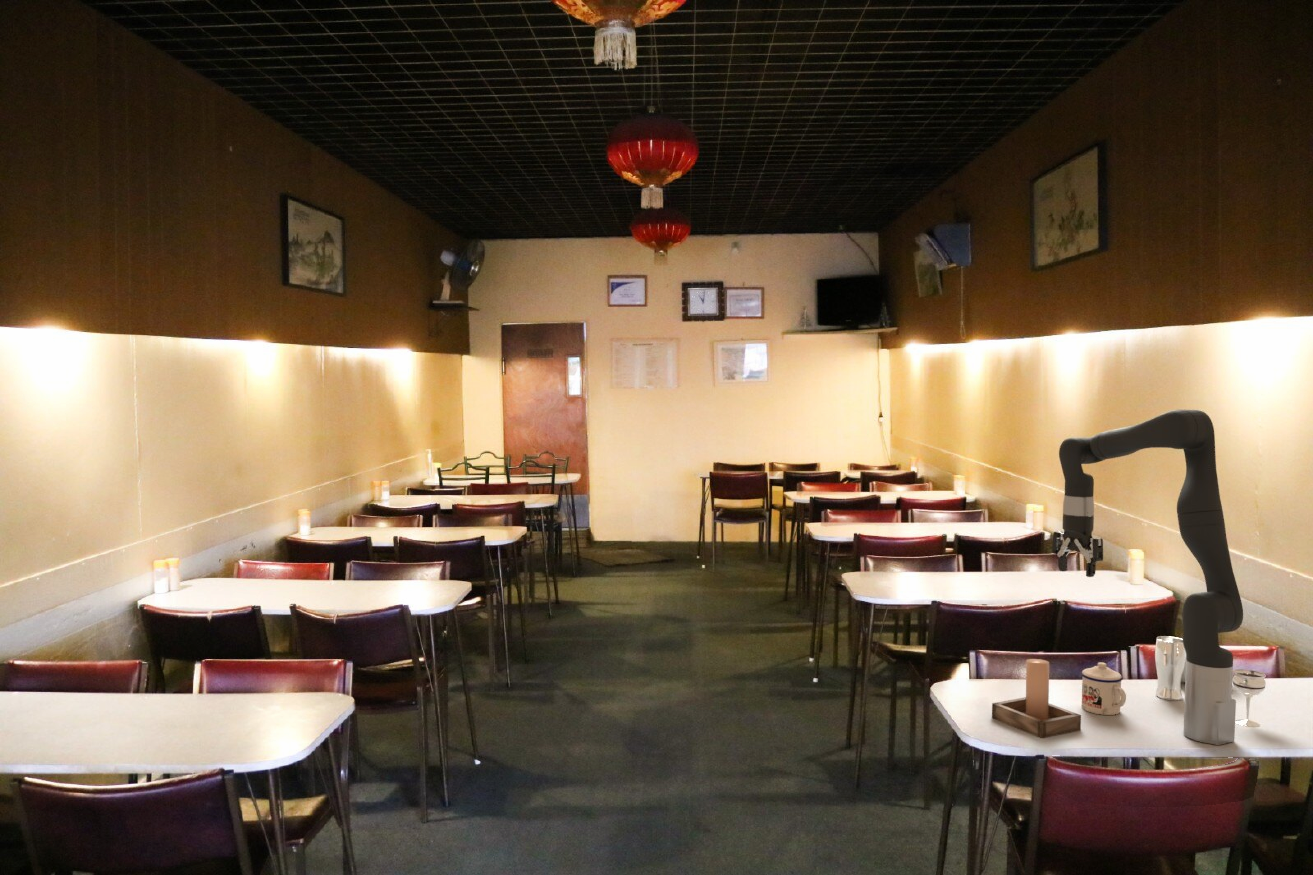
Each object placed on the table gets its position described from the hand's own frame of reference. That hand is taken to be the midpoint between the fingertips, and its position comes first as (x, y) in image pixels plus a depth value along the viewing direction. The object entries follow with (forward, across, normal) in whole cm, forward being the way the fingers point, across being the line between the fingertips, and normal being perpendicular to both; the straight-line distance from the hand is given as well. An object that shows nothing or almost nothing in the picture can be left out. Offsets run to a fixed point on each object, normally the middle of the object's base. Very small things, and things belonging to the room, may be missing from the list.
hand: (1076, 573), depth 255 cm
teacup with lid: (+30, +18, -10) cm, 37 cm away
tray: (+30, +17, -32) cm, 47 cm away
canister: (+30, +17, -32) cm, 47 cm away
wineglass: (+30, +38, +14) cm, 51 cm away
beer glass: (+30, +17, +15) cm, 38 cm away
